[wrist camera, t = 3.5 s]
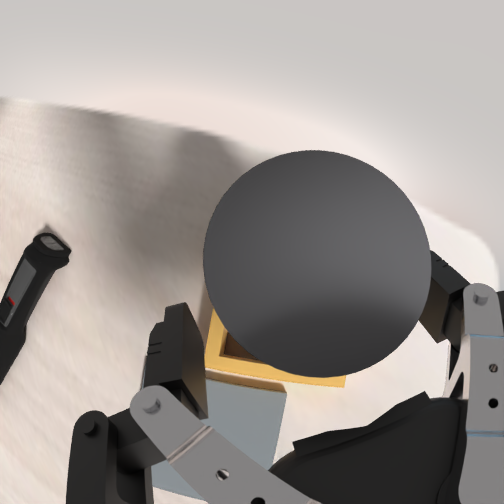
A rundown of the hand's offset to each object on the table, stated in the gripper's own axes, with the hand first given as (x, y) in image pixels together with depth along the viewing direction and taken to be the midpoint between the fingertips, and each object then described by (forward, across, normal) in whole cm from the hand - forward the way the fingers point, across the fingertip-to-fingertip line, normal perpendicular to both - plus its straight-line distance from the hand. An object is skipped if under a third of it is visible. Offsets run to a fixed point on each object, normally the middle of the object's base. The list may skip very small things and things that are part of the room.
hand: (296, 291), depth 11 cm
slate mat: (+1, +7, +11) cm, 13 cm away
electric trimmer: (+9, +21, +3) cm, 23 cm away
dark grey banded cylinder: (+6, 0, +6) cm, 8 cm away
